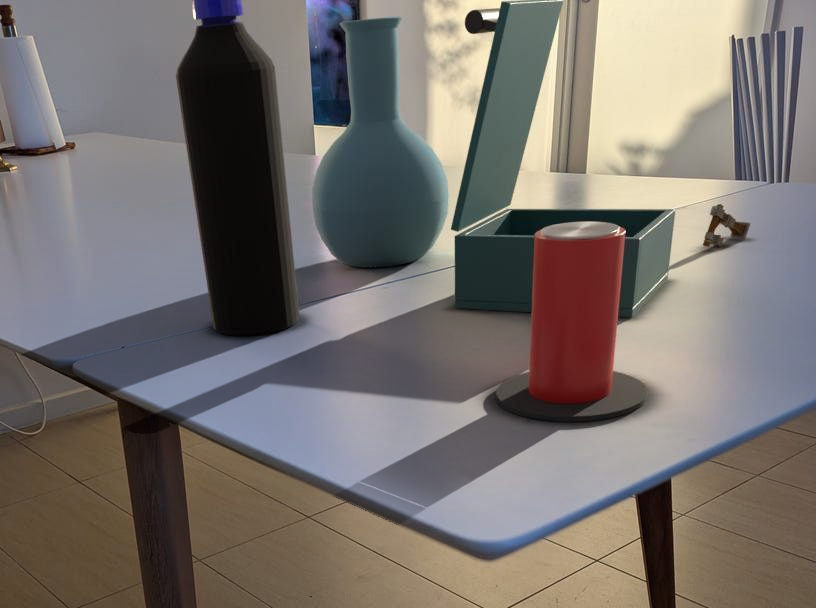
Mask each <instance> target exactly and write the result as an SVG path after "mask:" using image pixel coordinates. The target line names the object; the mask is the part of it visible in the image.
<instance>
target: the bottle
mask: <svg viewBox="0 0 816 608" xmlns="http://www.w3.org/2000/svg"><path fill="white" fill-rule="evenodd" d="M191 2H192V14H193V20H196V21H198V20H199V21H200V24H201V25H196V26H195V32H194V37H193V38H192V40H191V43H190V45H189V47H188V48H187V50H186V52H185V53H184V55H183V56H182V58H181V60H180V62H179V64H178V67H177V68H176V74H175V79H176V86H177V93H178V99H179V107H180V113H181V121H182V126H183V133H184V139H185V147H186V153H187V160H188V161H187V162H188V166H189V173H190V179H191V186H192V187H191V188H192V193H193V198H194V199H193V200H194V208H195V213H196V221H197V226H198V233H199V239H200V247H201V253H202V260H203V266H204V267H203V268H204V272H205V279H206V286H207V287H206V288H207V293H208V300H209V306H210V313H211V321H212V326H213V329H214V330H215V331H217V332H218V333H219V334H223V335H226V336H227V335H228V336H236V337H237V336H238V337H247V336H259V335H261V336H262V335H267V334H273V333H276V332H277V333H278V332H280V331H284V330H286V329H289V328H291V327H294V326H295V325H296V324H297V322H299V320H300V307H299V297H298V288H297V287H298V286H297V278H296V277H297V276H296V268H295V267H296V266H295V258H294V250H293V249H294V247H293V237H292V228H291V217H290V208H289V197H288V187H287V178H286V177H287V176H286V167H285V156H284V155H285V154H284V146H283V137H282V136H283V135H282V125H281V116H280V105H279V96H278V95H279V94H278V85H277V76H276V67H275V65H274V61H273V59H271V58H270V56H269V55H268V54H267V52H266V51H265V50H264V49H263V48H262V47H261V46H260V44H258V43H257V42H256V41H255V39H254V38H253V37H252V35H250V33H249V32H248V31H247V30H246V27H245V25H244V22H243V21H237V17H241V16H244V9H243V2H242V0H191Z"/></svg>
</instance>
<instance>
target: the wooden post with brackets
mask: <svg viewBox="0 0 816 608" xmlns="http://www.w3.org/2000/svg"><path fill="white" fill-rule="evenodd" d="M709 215H710V216H711V220H710V223H709V226H708V228H707V231H706V232H705V235H704V238H703V243H702V246H704V247H708V248H709V247H710V246H711V245H713V247H722V245H723V242H724V240H725V237H722V236H721V234H715V231H716V229H717V228H718V227H719V226H720V225H721V226H723V227H724V228H727V229H729V230H730V236H729V237H730V239H735V240H736V239H737V240H746V238H747V235H748V232H749V230H750V226H751V222H745V221H736V218H734V217H733V215H731V214H730V213H726V209H724V205H723V204H722V203H717V204H716V205H712V206H711V208H710V212H709Z"/></svg>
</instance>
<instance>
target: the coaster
mask: <svg viewBox="0 0 816 608" xmlns="http://www.w3.org/2000/svg"><path fill="white" fill-rule="evenodd" d="M648 395H649V390H648V387H647V386H646V385H645V383H644V382H642V381H641V380H639V379H638V378H636V377H634V376H631V375H629V374H626V373H623V372H619V371H614V370H613V376H612V387H611V392H610V394H609V395H608V396H606V397H604V398H602V399H599V400H596V401H592V402H587V403H578V404H560V403H551V402H546V401H542V400H539V399H537V398H535V397H533V396H532V395H531V394H530V393H529V371H528V372H524V373H520V374H518V375H515V376H512V377H510V378H507V379H505V380H504V381H503V382H501V383H500V384H499V385H498V386H497V388H496V391H495V400H496V403H497V404H498V405H499V406H500V407H501V408H502V409H504V410H505V411H508V412H510V413H512V414H515V415H518V416H521V417H524V418H528V419H534V420H540V421H548V422H558V423H559V422H560V423H563V422H566V423H575V422H576V423H577V422H578V423H580V422H594V421H601V420H606V419H607V420H608V419H612V418H616V417H620V416H623V415H626V414H629V413H632V412H634V411H636V410H638V409H639V408H641V407H642V406H643V405H644V404H645V403H646V402H647V399H648Z"/></svg>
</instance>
